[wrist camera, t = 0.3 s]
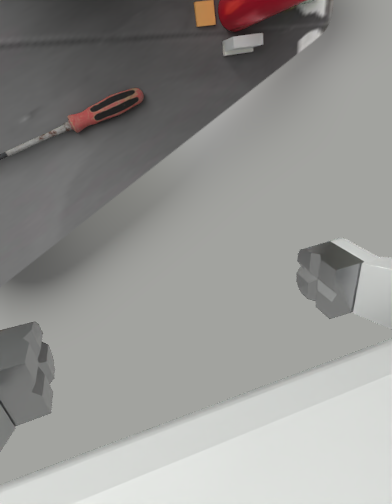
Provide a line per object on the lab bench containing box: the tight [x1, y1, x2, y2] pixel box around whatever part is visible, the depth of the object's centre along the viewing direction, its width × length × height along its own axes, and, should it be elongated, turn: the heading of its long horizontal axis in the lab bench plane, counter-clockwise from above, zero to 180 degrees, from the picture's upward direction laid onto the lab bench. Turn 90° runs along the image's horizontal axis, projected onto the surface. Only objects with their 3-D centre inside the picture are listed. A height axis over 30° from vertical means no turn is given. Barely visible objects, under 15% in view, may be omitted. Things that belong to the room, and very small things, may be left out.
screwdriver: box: [0, 88, 144, 160], centre depth 46 cm, size 25×3×3 cm, turn 112°
